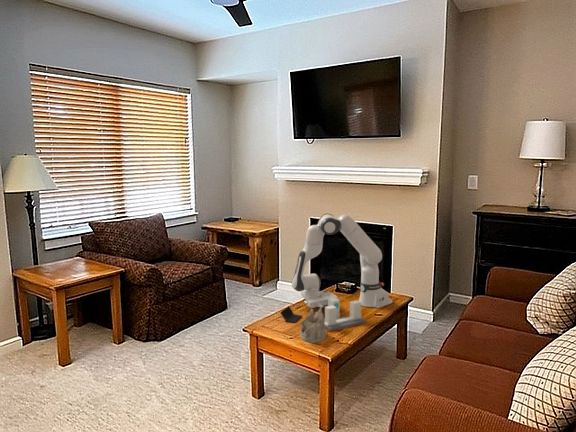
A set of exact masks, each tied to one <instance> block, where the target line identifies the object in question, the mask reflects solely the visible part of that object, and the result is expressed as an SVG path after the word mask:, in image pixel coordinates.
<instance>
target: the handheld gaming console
mask: <svg viewBox="0 0 576 432" xmlns="http://www.w3.org/2000/svg"><path fill="white" fill-rule="evenodd" d="M280 314H281V317H283V319H284V321H285V323H289V324H290V323H291V324H296V323H298V321H300V320H301V319H302V318H303V315H300V314H296V313H294V312H293V310H292V309H291V307H290V306H287V307H286V308H284V309H283V310H281V312H280Z"/></svg>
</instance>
